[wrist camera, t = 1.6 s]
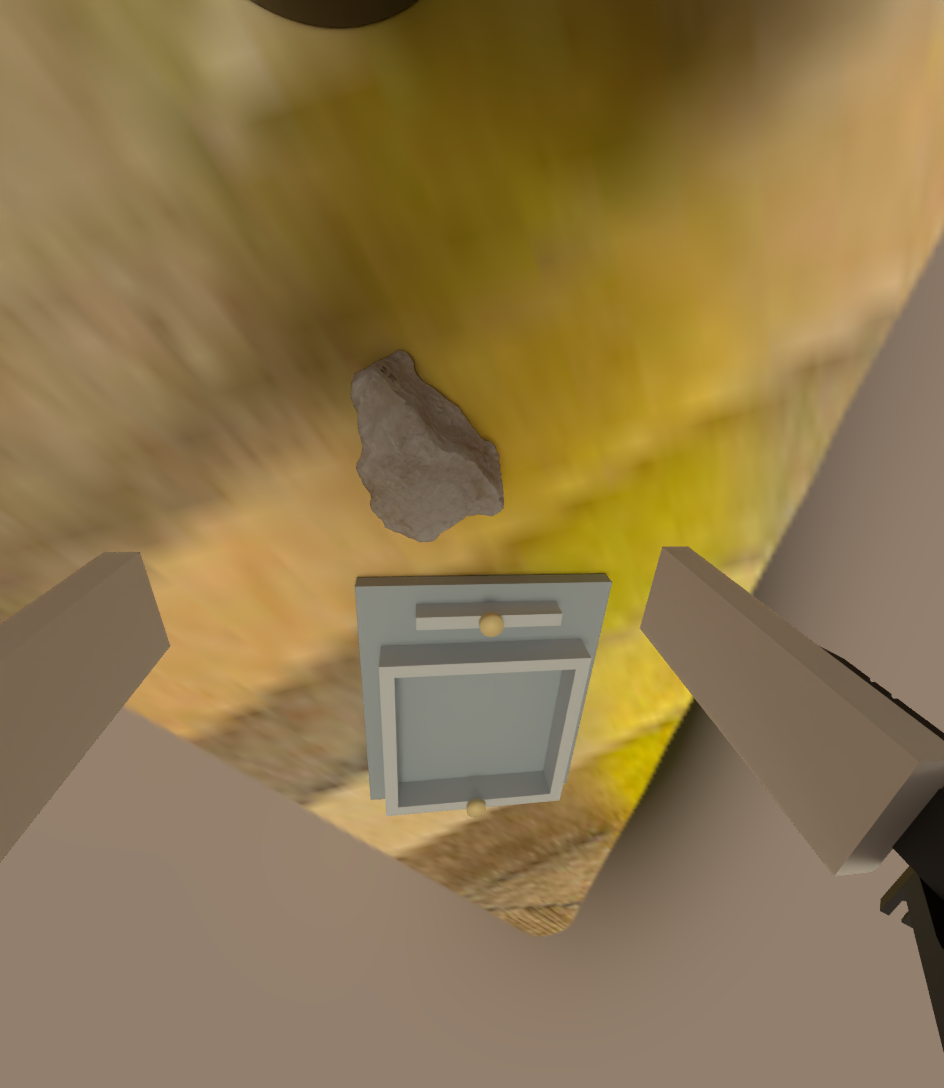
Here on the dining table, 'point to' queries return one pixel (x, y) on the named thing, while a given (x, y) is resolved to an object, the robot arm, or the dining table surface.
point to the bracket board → (475, 685)
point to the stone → (420, 453)
